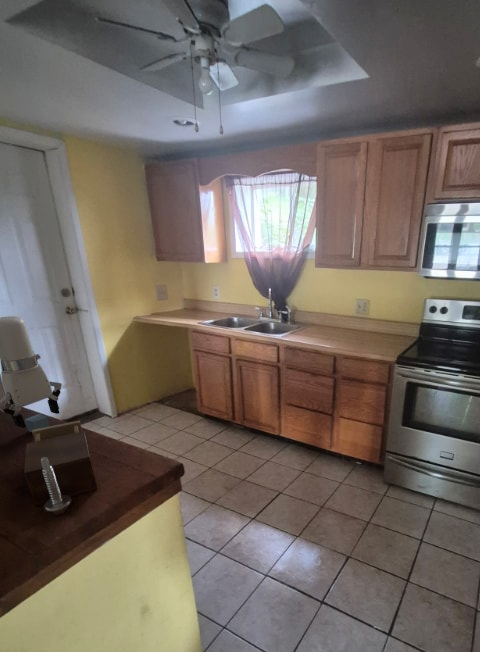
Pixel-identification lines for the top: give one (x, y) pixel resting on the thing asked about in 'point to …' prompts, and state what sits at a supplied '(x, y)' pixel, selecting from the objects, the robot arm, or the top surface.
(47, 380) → the robot arm
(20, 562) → the top surface
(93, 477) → the cabinet
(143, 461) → the top surface
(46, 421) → the block
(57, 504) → the screw
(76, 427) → the drawer
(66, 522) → the top surface
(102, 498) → the top surface
